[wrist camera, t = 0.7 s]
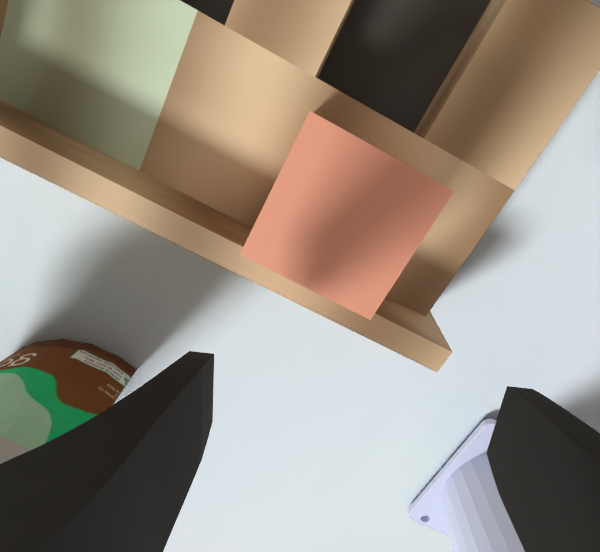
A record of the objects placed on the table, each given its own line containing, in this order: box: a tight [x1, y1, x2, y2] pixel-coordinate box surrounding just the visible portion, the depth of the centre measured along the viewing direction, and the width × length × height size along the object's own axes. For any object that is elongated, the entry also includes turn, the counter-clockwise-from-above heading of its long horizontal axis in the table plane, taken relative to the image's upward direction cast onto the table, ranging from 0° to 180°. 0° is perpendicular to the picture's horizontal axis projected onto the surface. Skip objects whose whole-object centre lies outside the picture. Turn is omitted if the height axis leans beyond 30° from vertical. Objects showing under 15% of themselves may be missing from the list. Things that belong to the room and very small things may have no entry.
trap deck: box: [0, 0, 600, 372], centre depth 15 cm, size 20×13×5 cm, turn 63°
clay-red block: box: [240, 111, 454, 320], centre depth 14 cm, size 4×4×4 cm
